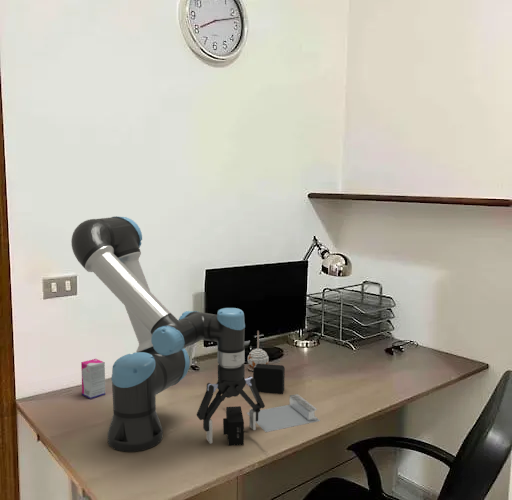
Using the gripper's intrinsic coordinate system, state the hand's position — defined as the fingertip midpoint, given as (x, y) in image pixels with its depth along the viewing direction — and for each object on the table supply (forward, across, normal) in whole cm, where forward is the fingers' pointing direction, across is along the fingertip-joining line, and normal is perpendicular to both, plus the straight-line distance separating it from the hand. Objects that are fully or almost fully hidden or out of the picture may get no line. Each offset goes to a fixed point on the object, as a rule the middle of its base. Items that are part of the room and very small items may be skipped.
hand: (231, 436), depth 157 cm
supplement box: (0, -31, +47) cm, 56 cm away
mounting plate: (0, +18, +3) cm, 18 cm away
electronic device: (0, +23, +23) cm, 33 cm away
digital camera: (0, 0, 0) cm, 1 cm away
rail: (-1, +24, +3) cm, 25 cm away
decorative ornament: (0, +30, +47) cm, 56 cm away
